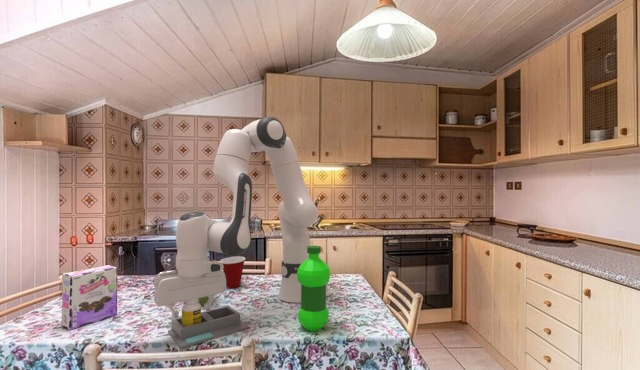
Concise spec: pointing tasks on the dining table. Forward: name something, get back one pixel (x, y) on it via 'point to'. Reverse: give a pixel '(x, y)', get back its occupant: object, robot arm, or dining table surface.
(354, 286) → the dining table surface
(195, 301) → the supplement bottle
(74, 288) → the candy box
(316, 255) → the plastic bottle
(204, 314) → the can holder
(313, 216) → the robot arm
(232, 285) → the plastic cup
